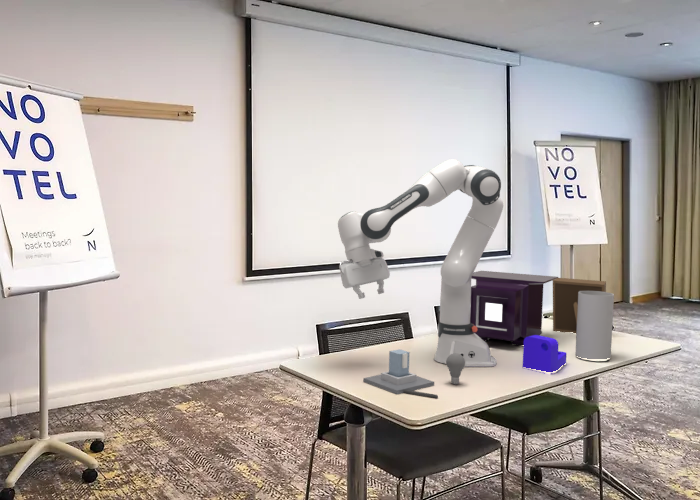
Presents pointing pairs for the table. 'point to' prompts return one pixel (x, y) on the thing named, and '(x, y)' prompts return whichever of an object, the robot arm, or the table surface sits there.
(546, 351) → the bracket
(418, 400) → the table surface
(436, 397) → the rod
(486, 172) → the robot arm
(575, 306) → the photo frame
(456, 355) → the light bulb
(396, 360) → the plug block
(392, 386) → the board
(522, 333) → the dark purple stove
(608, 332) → the cylinder vase
